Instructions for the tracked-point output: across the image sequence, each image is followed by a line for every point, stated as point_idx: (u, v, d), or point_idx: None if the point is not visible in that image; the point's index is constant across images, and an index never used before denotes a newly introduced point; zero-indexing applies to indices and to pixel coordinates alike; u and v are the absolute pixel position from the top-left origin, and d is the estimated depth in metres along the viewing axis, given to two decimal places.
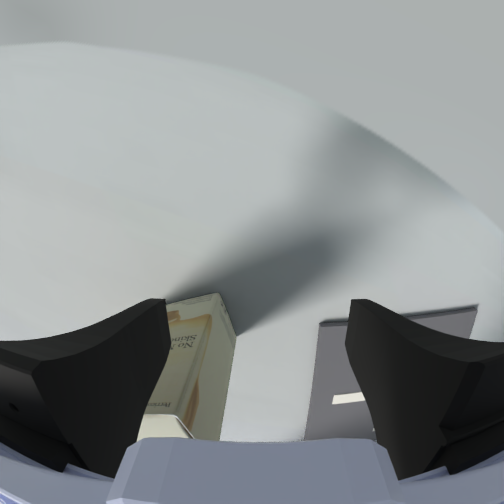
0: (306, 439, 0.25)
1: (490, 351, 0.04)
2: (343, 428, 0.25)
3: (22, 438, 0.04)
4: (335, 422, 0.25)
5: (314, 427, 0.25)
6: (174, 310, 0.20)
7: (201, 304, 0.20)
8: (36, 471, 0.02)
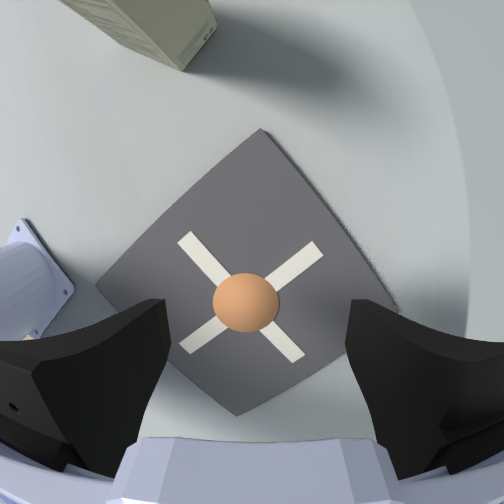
0: (109, 271, 0.19)
1: (490, 351, 0.04)
2: None
3: (22, 438, 0.04)
4: (156, 278, 0.19)
5: (131, 260, 0.19)
6: None
7: None
8: (36, 471, 0.02)
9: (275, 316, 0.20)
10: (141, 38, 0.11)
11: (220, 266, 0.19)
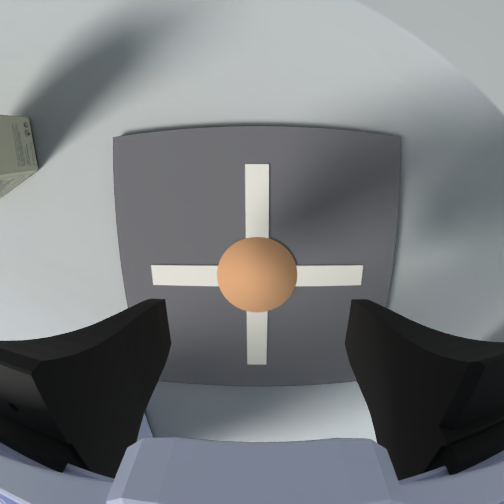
0: None
1: (490, 351, 0.04)
2: (190, 346, 0.18)
3: (22, 438, 0.04)
4: (172, 329, 0.17)
5: None
6: None
7: None
8: (36, 471, 0.02)
9: (294, 259, 0.16)
10: None
11: (201, 267, 0.16)
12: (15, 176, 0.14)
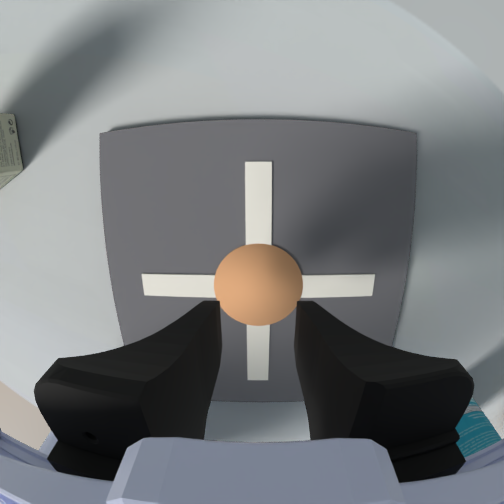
0: None
1: (410, 369, 0.04)
2: None
3: (99, 469, 0.04)
4: None
5: None
6: None
7: None
8: (36, 471, 0.02)
9: (300, 268, 0.14)
10: None
11: (196, 276, 0.15)
12: None
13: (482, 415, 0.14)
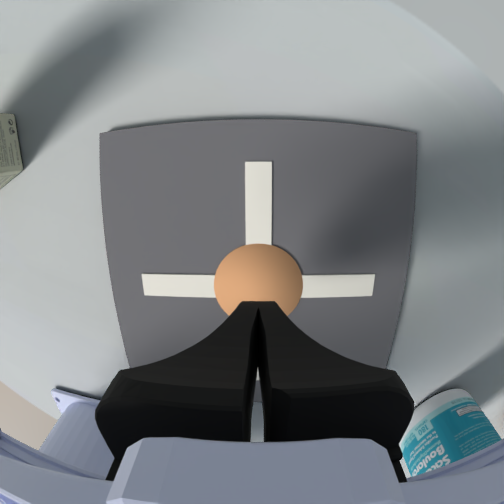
0: None
1: (333, 378, 0.04)
2: None
3: None
4: (166, 342, 0.16)
5: (134, 346, 0.16)
6: None
7: None
8: (36, 471, 0.02)
9: (300, 268, 0.14)
10: None
11: (196, 276, 0.15)
12: None
13: (482, 415, 0.14)
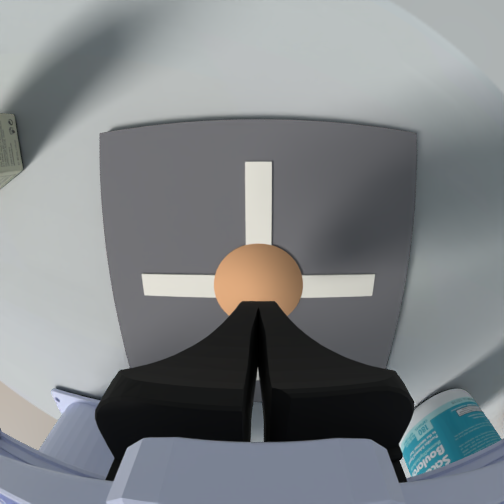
0: None
1: (333, 378, 0.04)
2: None
3: None
4: (166, 342, 0.16)
5: (134, 346, 0.16)
6: None
7: None
8: (36, 471, 0.02)
9: (300, 268, 0.14)
10: None
11: (196, 276, 0.15)
12: None
13: (482, 415, 0.14)
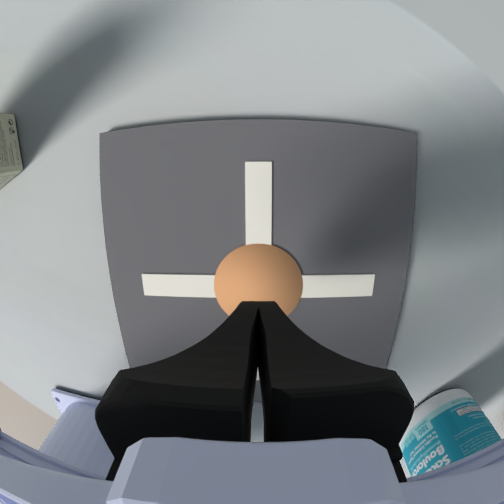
0: None
1: (333, 378, 0.04)
2: None
3: None
4: (166, 342, 0.16)
5: (134, 346, 0.16)
6: None
7: None
8: (36, 471, 0.02)
9: (300, 268, 0.14)
10: None
11: (196, 276, 0.15)
12: None
13: (482, 415, 0.14)
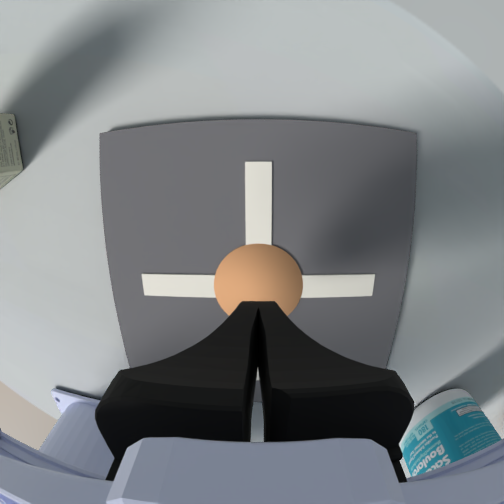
0: None
1: (333, 378, 0.04)
2: None
3: None
4: (166, 342, 0.16)
5: (134, 346, 0.16)
6: None
7: None
8: (36, 471, 0.02)
9: (300, 268, 0.14)
10: None
11: (196, 276, 0.15)
12: None
13: (482, 415, 0.14)
